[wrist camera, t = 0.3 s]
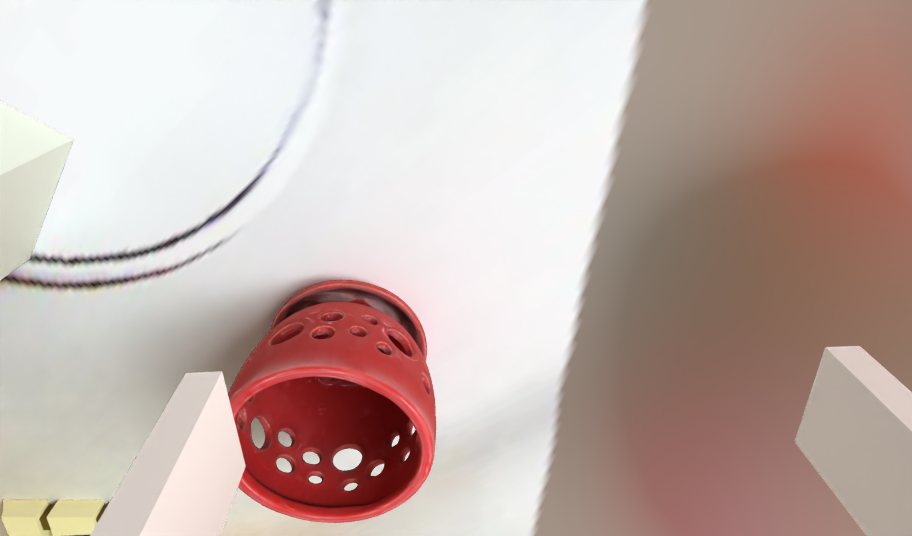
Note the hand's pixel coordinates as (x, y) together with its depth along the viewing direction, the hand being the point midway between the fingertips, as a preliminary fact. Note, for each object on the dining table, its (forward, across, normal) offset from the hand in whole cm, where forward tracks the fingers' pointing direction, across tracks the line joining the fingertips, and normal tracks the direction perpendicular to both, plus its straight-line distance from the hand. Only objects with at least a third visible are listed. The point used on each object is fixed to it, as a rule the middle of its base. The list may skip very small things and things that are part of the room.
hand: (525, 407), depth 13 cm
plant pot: (+28, -9, -17) cm, 34 cm away
